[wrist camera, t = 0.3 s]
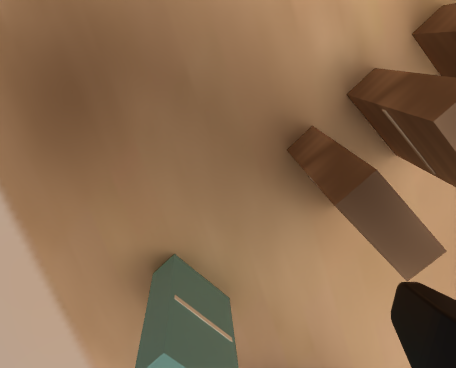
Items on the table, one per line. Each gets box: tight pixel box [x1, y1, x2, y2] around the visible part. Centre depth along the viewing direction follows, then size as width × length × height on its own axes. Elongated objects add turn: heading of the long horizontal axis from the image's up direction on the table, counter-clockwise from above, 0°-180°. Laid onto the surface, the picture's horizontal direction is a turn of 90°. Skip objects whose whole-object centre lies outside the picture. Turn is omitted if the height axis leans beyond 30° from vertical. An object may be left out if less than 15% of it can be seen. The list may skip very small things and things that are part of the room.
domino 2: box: [347, 68, 456, 187], centre depth 17 cm, size 2×5×8 cm, turn 44°
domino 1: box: [135, 254, 238, 368], centre depth 20 cm, size 2×5×8 cm, turn 44°
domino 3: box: [287, 126, 446, 281], centre depth 18 cm, size 2×5×8 cm, turn 44°
